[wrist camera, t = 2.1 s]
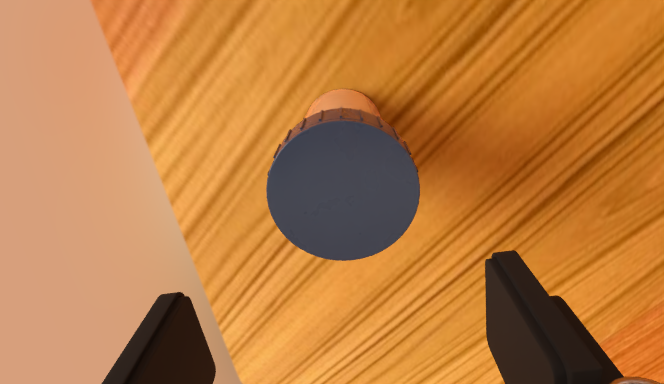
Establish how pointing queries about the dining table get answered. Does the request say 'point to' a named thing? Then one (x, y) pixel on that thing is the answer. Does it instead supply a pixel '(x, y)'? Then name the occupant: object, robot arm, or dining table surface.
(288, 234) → the cap
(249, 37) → the dining table surface
